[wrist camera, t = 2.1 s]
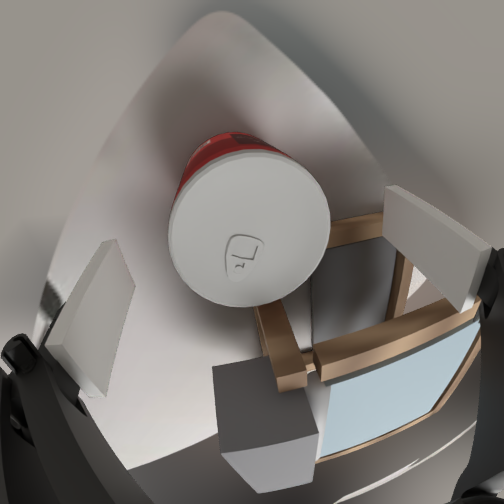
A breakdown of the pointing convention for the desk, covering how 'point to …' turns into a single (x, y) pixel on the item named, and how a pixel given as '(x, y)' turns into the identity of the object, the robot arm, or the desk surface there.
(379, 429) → the trapdoor
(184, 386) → the desk surface
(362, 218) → the frame
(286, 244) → the canned food
